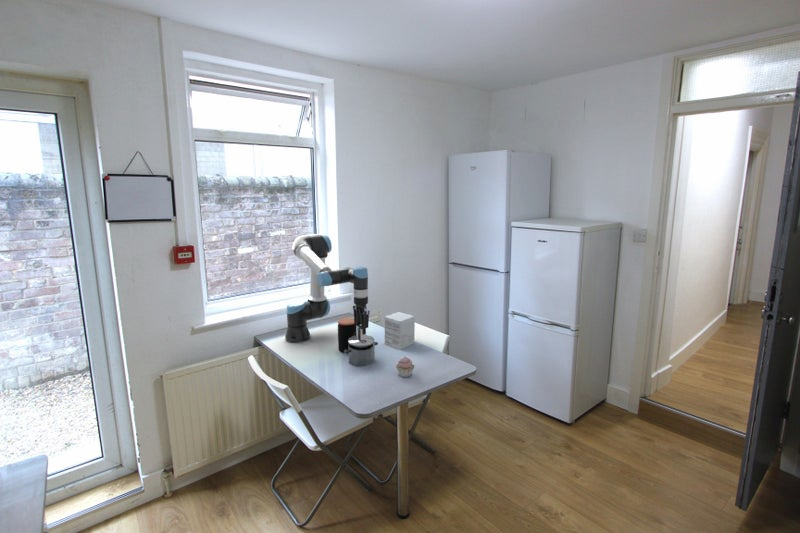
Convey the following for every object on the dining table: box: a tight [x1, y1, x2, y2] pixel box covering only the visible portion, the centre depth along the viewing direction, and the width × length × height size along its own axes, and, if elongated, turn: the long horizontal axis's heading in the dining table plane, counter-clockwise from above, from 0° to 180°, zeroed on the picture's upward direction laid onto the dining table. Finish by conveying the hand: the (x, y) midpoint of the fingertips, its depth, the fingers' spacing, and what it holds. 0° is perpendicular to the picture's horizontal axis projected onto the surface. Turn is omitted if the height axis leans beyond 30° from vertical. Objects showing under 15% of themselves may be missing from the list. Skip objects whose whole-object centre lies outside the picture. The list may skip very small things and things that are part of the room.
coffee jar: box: [337, 317, 357, 354], centre depth 230 cm, size 11×11×18 cm
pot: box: [343, 341, 379, 367], centre depth 217 cm, size 20×14×9 cm
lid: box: [348, 325, 375, 348], centre depth 215 cm, size 14×14×10 cm
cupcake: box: [395, 356, 415, 379], centre depth 201 cm, size 9×9×10 cm
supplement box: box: [384, 311, 416, 350], centre depth 240 cm, size 13×13×18 cm
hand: (361, 338), depth 215 cm, fingers closed on lid, 3 cm apart
